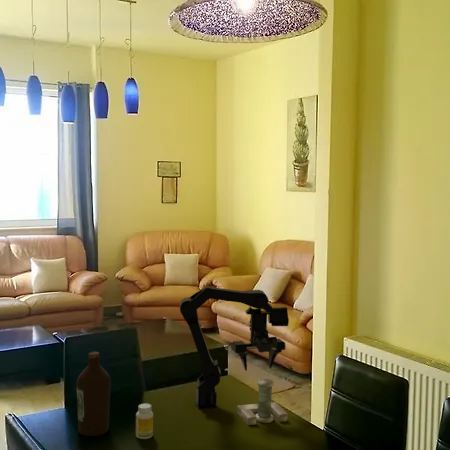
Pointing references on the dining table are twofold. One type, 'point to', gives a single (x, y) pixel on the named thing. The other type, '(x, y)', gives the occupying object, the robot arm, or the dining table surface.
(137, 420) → the supplement bottle
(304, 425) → the dining table surface
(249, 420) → the notched board
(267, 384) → the bobbin
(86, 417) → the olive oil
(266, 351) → the robot arm
